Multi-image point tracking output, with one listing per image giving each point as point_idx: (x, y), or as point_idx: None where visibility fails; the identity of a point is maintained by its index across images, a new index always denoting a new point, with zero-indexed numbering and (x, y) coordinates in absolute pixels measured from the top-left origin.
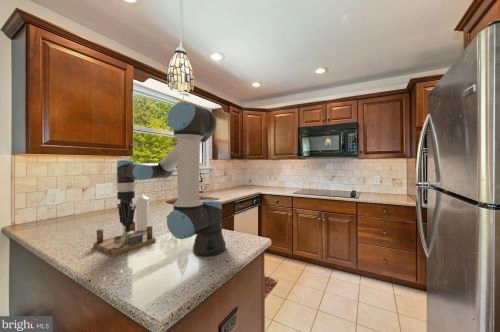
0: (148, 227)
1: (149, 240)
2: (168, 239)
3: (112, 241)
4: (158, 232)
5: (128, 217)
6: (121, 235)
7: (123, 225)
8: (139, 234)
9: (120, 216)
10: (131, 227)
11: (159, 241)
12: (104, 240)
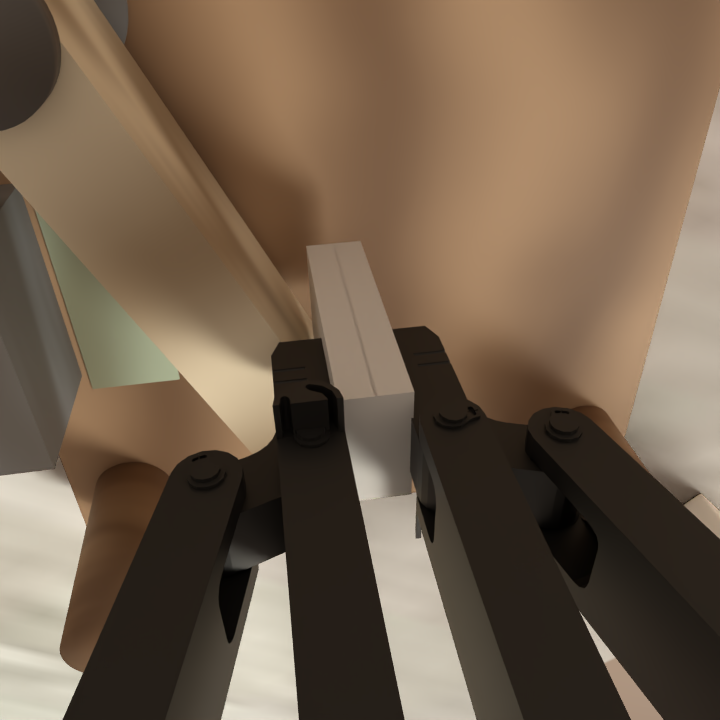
0: (74, 630)
1: (67, 461)
2: (63, 595)
3: (497, 96)
4: (408, 604)
5: (108, 670)
6: (167, 194)
7: (324, 388)
8: (2, 437)
9: (651, 554)
10: None
11: (72, 522)
12: (689, 25)
